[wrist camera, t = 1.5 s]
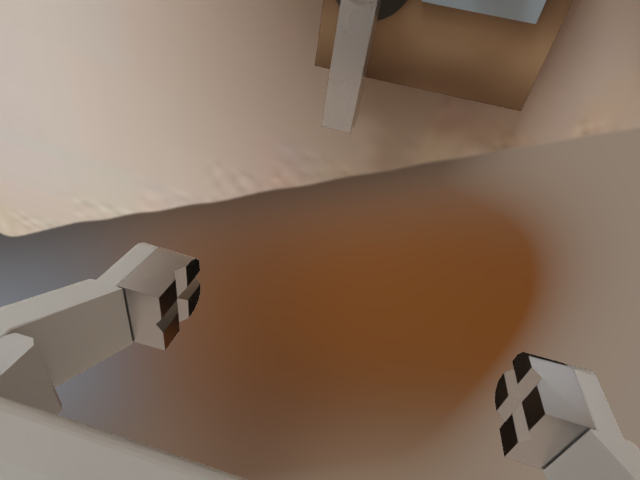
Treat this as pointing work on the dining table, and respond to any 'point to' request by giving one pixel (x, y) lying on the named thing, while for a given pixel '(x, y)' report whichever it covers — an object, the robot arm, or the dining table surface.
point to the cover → (499, 8)
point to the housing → (453, 49)
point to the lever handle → (349, 62)
